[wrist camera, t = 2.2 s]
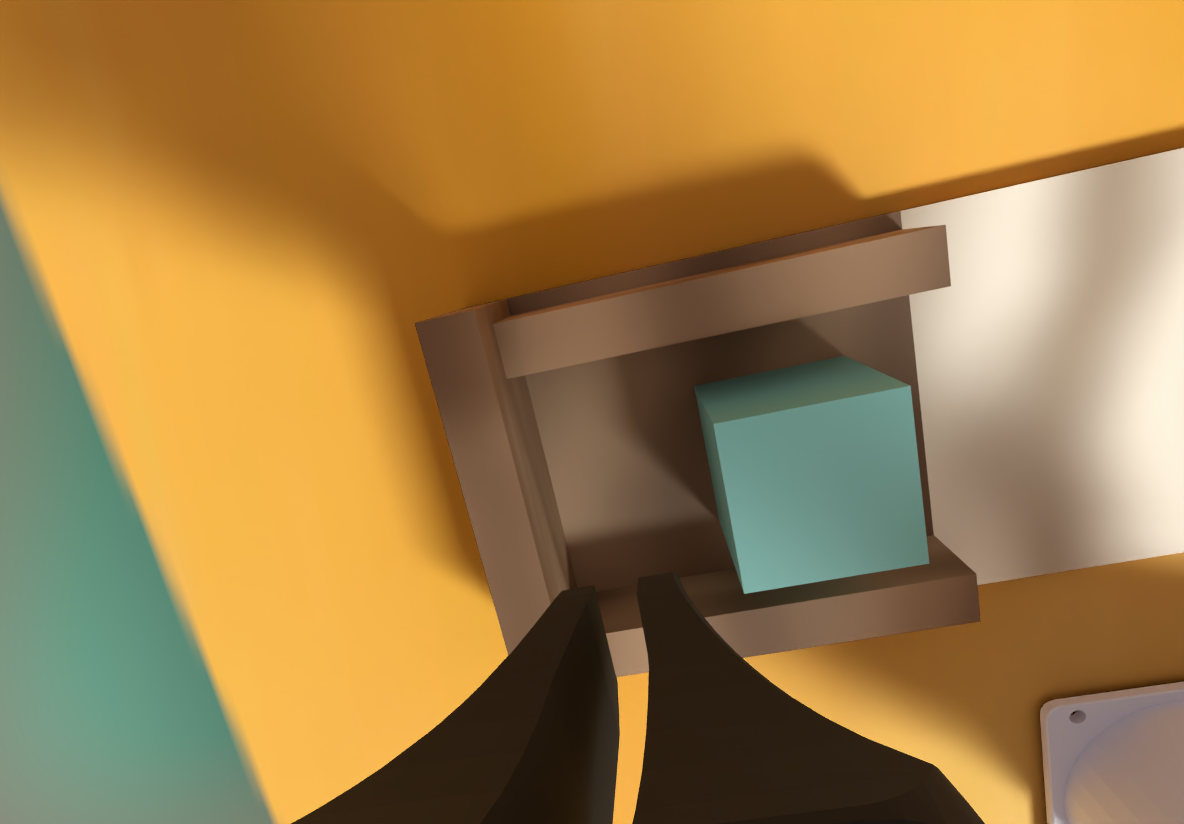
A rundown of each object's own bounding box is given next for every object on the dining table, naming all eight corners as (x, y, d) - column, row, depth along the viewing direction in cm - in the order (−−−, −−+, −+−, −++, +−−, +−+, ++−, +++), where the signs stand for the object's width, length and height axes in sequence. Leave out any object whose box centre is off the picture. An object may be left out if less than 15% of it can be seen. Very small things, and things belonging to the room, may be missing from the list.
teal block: (844, 355, 19) (910, 385, 14) (862, 495, 20) (929, 563, 15) (694, 386, 19) (713, 423, 15) (719, 520, 20) (744, 593, 16)
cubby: (1228, 137, 17) (1439, 95, 13) (1224, 534, 20) (1396, 614, 15) (463, 308, 20) (414, 323, 15) (551, 642, 22) (532, 739, 18)
